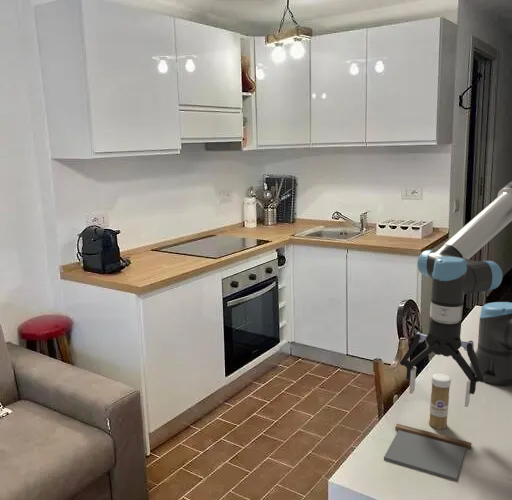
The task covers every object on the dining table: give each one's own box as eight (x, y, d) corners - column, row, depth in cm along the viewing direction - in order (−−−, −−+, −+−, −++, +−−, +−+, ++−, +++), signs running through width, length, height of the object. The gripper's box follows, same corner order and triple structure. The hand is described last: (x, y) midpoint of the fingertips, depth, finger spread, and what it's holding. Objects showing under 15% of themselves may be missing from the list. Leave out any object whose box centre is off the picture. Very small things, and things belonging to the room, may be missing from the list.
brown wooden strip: (396, 427, 135) (397, 423, 135) (471, 446, 126) (471, 442, 126) (395, 429, 134) (395, 426, 134) (470, 449, 125) (470, 445, 125)
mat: (398, 432, 133) (398, 430, 133) (465, 450, 125) (465, 447, 125) (383, 459, 122) (383, 457, 122) (456, 480, 114) (456, 478, 114)
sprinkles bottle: (431, 429, 134) (435, 381, 131) (426, 420, 138) (429, 373, 135) (449, 429, 134) (453, 381, 131) (443, 420, 138) (447, 372, 135)
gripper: (391, 315, 133) (386, 392, 137) (498, 333, 121) (489, 417, 125) (399, 307, 139) (394, 381, 143) (501, 323, 127) (493, 403, 131)
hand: (438, 398), depth 134 cm, fingers open, 13 cm apart
